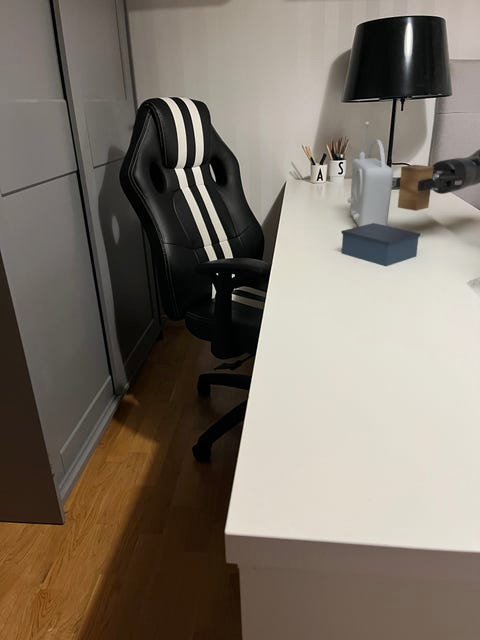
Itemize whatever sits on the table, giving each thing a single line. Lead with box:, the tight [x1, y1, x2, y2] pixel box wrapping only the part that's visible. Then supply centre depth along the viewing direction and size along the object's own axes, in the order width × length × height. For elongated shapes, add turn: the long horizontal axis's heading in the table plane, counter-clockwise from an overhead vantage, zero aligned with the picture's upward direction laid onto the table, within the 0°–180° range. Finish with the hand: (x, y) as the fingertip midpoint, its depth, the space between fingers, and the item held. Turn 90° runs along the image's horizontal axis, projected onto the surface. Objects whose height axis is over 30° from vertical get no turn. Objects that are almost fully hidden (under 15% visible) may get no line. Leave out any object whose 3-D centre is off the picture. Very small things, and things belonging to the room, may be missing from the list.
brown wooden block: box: [397, 164, 434, 212], centre depth 112 cm, size 5×5×9 cm
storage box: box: [341, 223, 421, 267], centre depth 107 cm, size 12×10×5 cm
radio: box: [347, 121, 394, 227], centre depth 129 cm, size 22×8×25 cm, turn 177°
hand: (408, 184), depth 110 cm, fingers closed on brown wooden block, 5 cm apart
